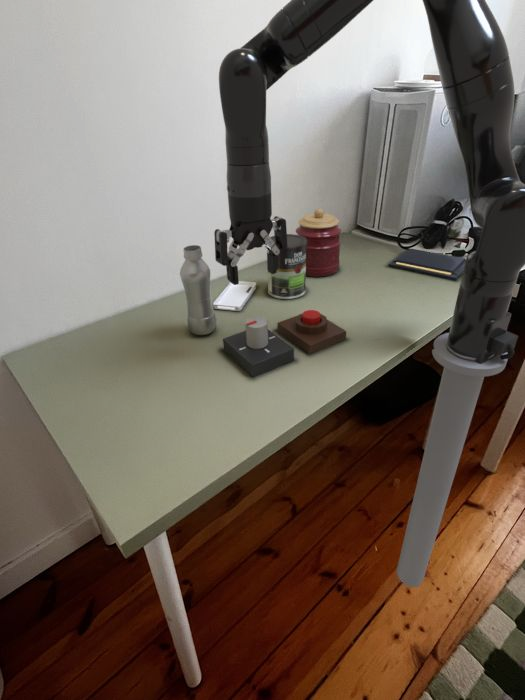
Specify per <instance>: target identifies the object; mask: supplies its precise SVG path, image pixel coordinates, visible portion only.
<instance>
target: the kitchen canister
mask: <svg viewBox="0 0 525 700" xmlns="http://www.w3.org/2000/svg"><path fill="white" fill-rule="evenodd" d="M339 224H340V220H339V219H338V218H336V217H335V216H334V215H332V214H330V213H326V212H325V213H324V210H323V209H322V208H316V209H315V210H314V212H313V213H309V214H305V215H304V216H303V217H301V218H300V219H299V220H298V226H296V228H295V229H294V230H295V233H296V235H299V236H303V237H305V238H306V239H307V244H306V277H307V276H308V277H314V278H315V277H316V278H319V277H321V278H322V277H329V276H331V275H334V274H336V273H337V272H338V271H339V268H340V254H341V253H340V252H341V243H342V241H341V238H340V234H341V233H342V232H343V231H342V227H341V226H339Z"/></svg>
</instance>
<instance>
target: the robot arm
mask: <svg viewBox="0 0 525 700" xmlns="http://www.w3.org/2000/svg"><path fill="white" fill-rule="evenodd" d="M373 2H374V0H289V2H287V3H286V4H285V5H284V6H283V7H282V8H280V9H279V11H277V12H276V13H275V14H274V16H272V18H271V19H270V20H269V22H268V23H267V25H266V26H265V27H264V28H263V29H262V30H260V31H259V32H258V33H257V34H256V35H255V36H253V37H252V38H251V39H250V40H248V41H247V42H246V43H244V45H242V46H241V47H240V48H236V49H235V48H234V49H233V50H231V51H229V52H228V53H227V54H226V55H225V56H224V58H223V59H222V61H221V63H220V65H219V69H218V88H219V89H218V91H219V98H220V104H221V111H222V117H223V123H224V128H225V129H224V130H225V131H224V132H225V133H224V134H225V135H224V137H225V138H224V139H225V140H224V141H225V142H224V143H225V155H226V191H227V201H228V203H227V204H228V216H229V220H230V221H229V222H230V226H229V229H224V230H223V229H222V230H221V229H219V228H216V229H215V230H214V232H213V233H214V253H215V254H214V256H215V257H214V258H215V262H217V263H218V264H220V265H221V266H223V267H226V268H225V269H226V279H227V281H228V282H229V283H230V282H231V283H232V284H234V285H237V284H239V281H240V279H239V267H238V265H237V264H239V263H238V262H239V261H240V259H241V258H242V257H243V256H244V254H245V253H246V251H252V250H253V249H256V248H258V249H259V248H263V247H264V248H265V249H266V251H267V250H268V251H269V253H267V252H266V261H267V262H266V265H267V273H268V272H270V273H271V274H275V273H276V272H277V270H278V254H279V253H280V251H282V250H286V249H287V234H288V231H287V230H288V229H287V220H286V219H285V218H283V217H281V216H278V215H276V216H274V217H273V219H271V217H272V215H273V211H272V209H273V207H272V206H273V205H272V173H271V168H270V148H269V147H270V145H269V133H268V132H269V131H268V128H267V91H268V90H269V89H270V88H271V87H272V86H273V85H274V84H276V83H277V82H278V81H279V80H280V79H281V78H282V77H284V76H285V74H287V73H288V72H289V71H290V70H291V69H294V68H295V67H297V66H299V65H300V64H302V63H303V62H305V61H306V60H308V59H309V58H310V57H311V56H313V54H315V53H316V52H317V51H318V50H320V49H321V48H322V47H323V46H324V45H326V44H327V43H328V42H329V41H330V40H332V39H333V38H334V37H335V36H336V35H338V33H340V32H341V31H342V30H343V29H345V27H347V25H349V24H350V23H351V22H352V21H353V20H355V18H356V17H357V16H358V15H359V14H361V13H362V11H364V10H365V9H366V8H367V7H368V6H369V5H370V4H371V3H373ZM422 3H423V6H424V10H425V15H426V17H427V22H428V27H429V32H430V33H429V34H430V38H431V42H432V43H431V44H432V48H433V51H434V52H433V53H434V57H435V61H436V65H437V69H438V74H439V79H440V84H441V87H442V91H443V96H444V100H445V104H446V107H447V111H448V115H449V118H450V121H451V124H452V128H453V131H454V136H455V138H456V142H457V144H458V147H459V151H460V153H461V156H462V159H463V164H464V168H465V173H466V179H467V186H468V187H467V188H468V194H469V203H470V211H471V215H472V218H473V221H474V222H475V223H476V225H477V226H478V228H480V229H481V233H480V236H479V241H478V244H477V247H476V250H475V251H472V252H470V253H469V254H467V256H466V258H465V259H466V262H465V266H464V270H463V274H462V275H461V279H460V284H459V288H458V293H457V297H456V302H455V305H454V309H453V315H452V318H451V323H450V327H449V332H448V333H449V335H448V340H447V342H446V348H447V350H448V351H449V352H450V353H451V354H452V355H454V356H456V357H458V358H460V359H463V360H467V361H474V362H477V363H479V364H482V363H484V362H486V361H488V360H490V359H492V358H493V357H495V356H497V355H501V356H500V358H501V359H502V360H503V359H508V360H509V359H511V358H512V357H514V355H515V347H516V344H517V341H518V338H519V335H517V334H515V333H513V332H511V331H508V328H509V324H510V321H511V317H512V313H511V312H508V311H509V308H510V304H511V302H512V298H513V295H514V291H515V288H516V285H517V282H518V278H519V275H520V272H521V270H522V269H523V268H524V266H525V183H524V182H522V181H521V179H520V177H519V174H518V172H517V167H516V164H515V160H514V157H513V152H512V147H511V130H512V122H513V115H514V108H515V95H516V94H515V82H514V81H515V80H514V75H513V69H512V65H511V59H510V52H509V49H508V46H507V43H506V38H505V36H504V33H503V32H502V30H501V27H500V25H499V24H498V21H497V19H496V18H495V16H494V14H493V11H492V10H491V8H490V6H489V5H488V3H487V1H486V0H422ZM272 230H273V232H274V233H273V236H275V243H274V241H273V240H272V239H271V238H270V237H271V236H270V233H271V231H272ZM230 238H232V241H231V243H230V244H229V246H228V243H229V242H230ZM238 246H239V247H238ZM506 352H507V353H508V354H505V355H502V354H504V353H506Z"/></svg>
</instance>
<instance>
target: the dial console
mask: <svg viewBox="0 0 525 700" xmlns="http://www.w3.org/2000/svg"><path fill="white" fill-rule="evenodd" d="M222 346H223V351H224V352H225V353H226V355H228V356H229V357H230V358H231V359H232V360H233V361H234V362H236V363H237V364H238V365H239V366H240V367H241V368H242V369H243V370H244V371H245V372H247V374H249V376H250V377H252V378H255V377H258V376H260V375H262V374H264V373H267V372H270V371H272V370H274V369H275V370H276V369H277V368H279V367H282V366H284V365H287V364H290V363H292V362H294V361H295V348H294V347H293V346H291V345H290V344H289V343H287V342H286V341H285V340H283V339H282V338H281V337H279V336H278V335H276V334H275V333H274V332H273V331H272V330H270V329H268V345H267V346H266V347H264V348H260V349H253V348H250V347H249V346H248V345H247V338H246V330H244V331H240V332H238V333H235V334H232V335H229V336H226V337H224V338H222Z"/></svg>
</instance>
